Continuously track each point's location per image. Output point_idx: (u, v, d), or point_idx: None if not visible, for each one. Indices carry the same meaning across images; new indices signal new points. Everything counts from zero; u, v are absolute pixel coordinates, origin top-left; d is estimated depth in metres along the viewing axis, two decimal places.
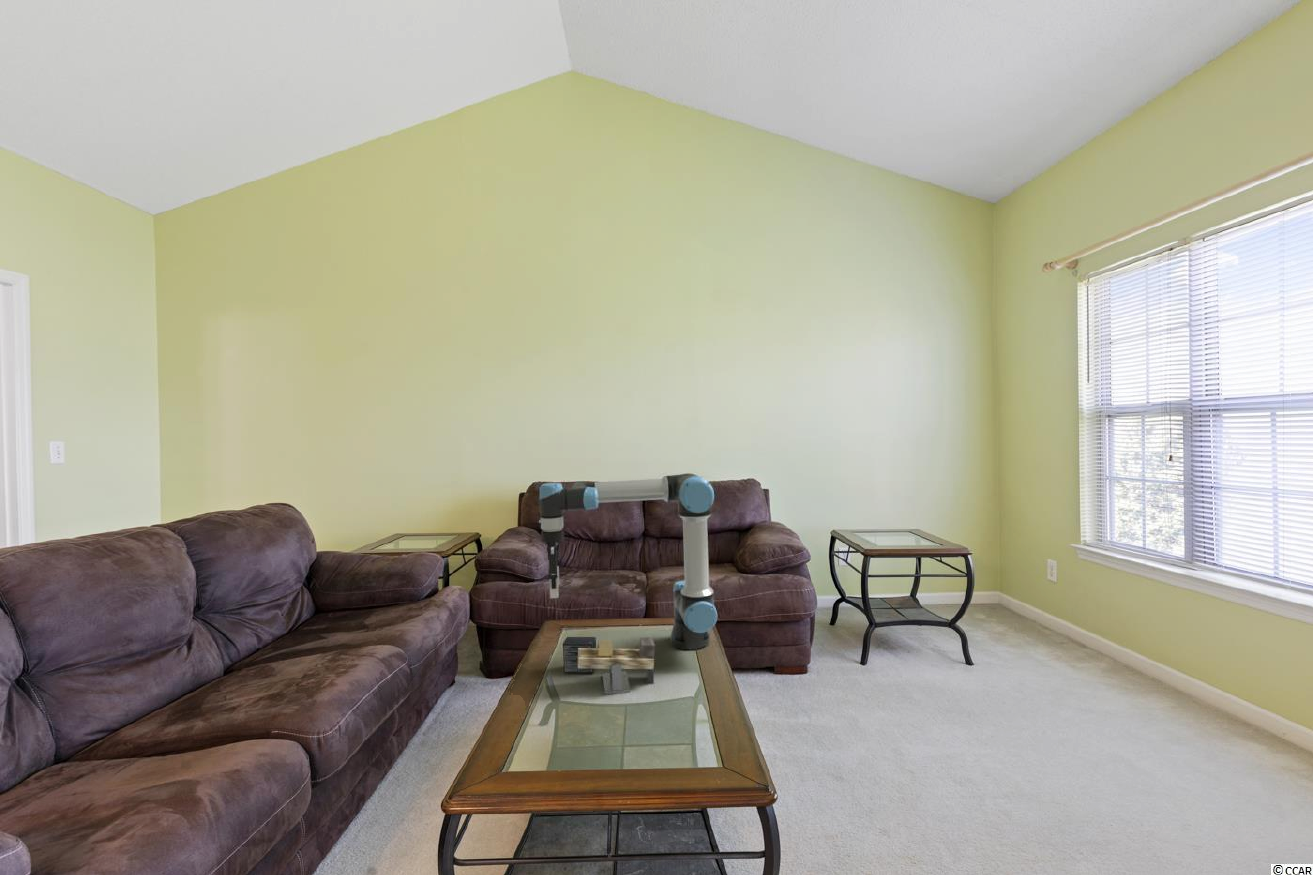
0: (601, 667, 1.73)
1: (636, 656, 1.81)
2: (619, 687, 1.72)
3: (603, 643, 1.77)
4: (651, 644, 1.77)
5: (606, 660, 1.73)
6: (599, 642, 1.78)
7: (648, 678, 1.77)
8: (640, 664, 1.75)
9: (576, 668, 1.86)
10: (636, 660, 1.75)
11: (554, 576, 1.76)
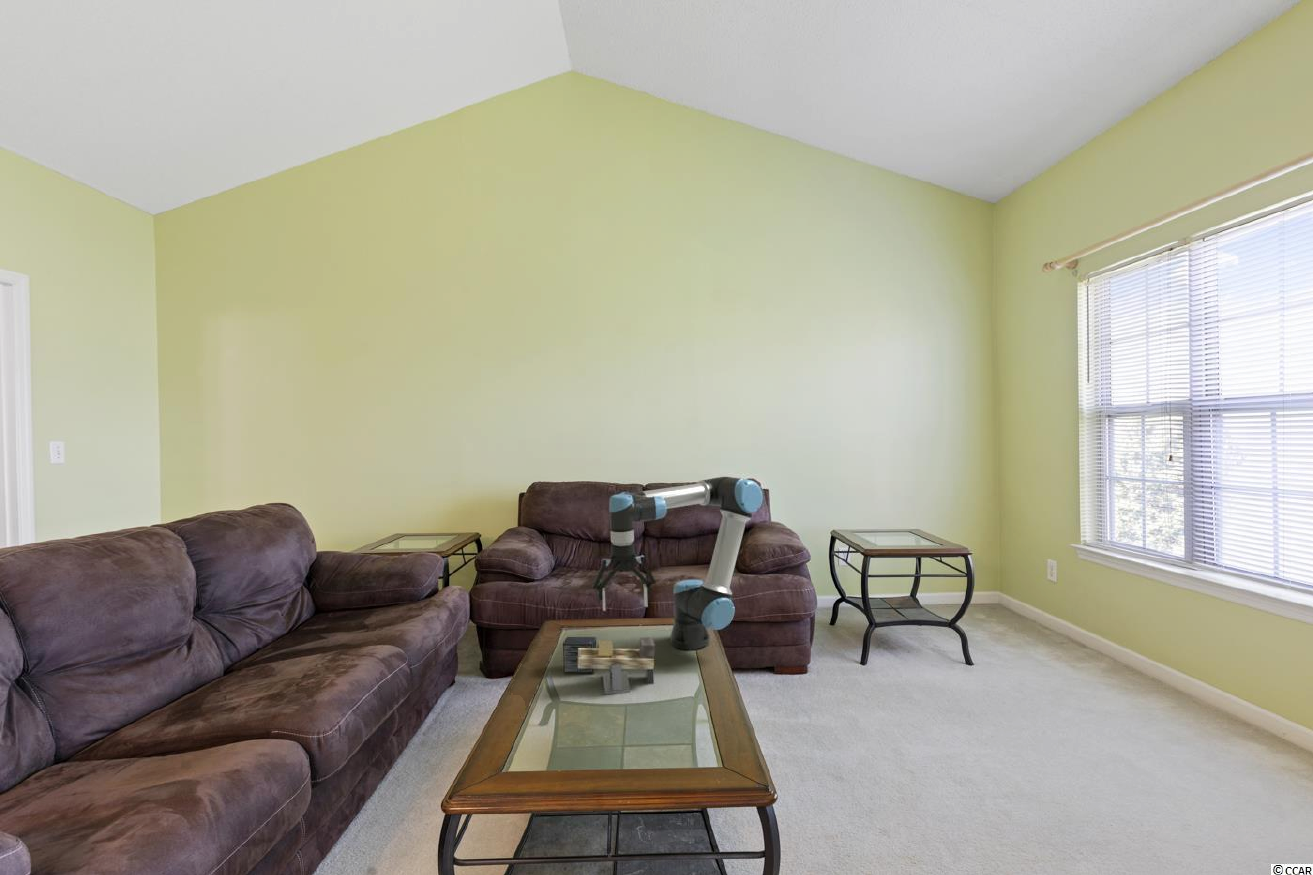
0: (601, 667, 1.73)
1: (636, 656, 1.81)
2: (619, 687, 1.72)
3: (603, 643, 1.77)
4: (651, 644, 1.77)
5: (606, 660, 1.73)
6: (599, 642, 1.78)
7: (648, 678, 1.77)
8: (640, 664, 1.75)
9: (576, 668, 1.86)
10: (636, 660, 1.75)
11: (593, 586, 1.76)
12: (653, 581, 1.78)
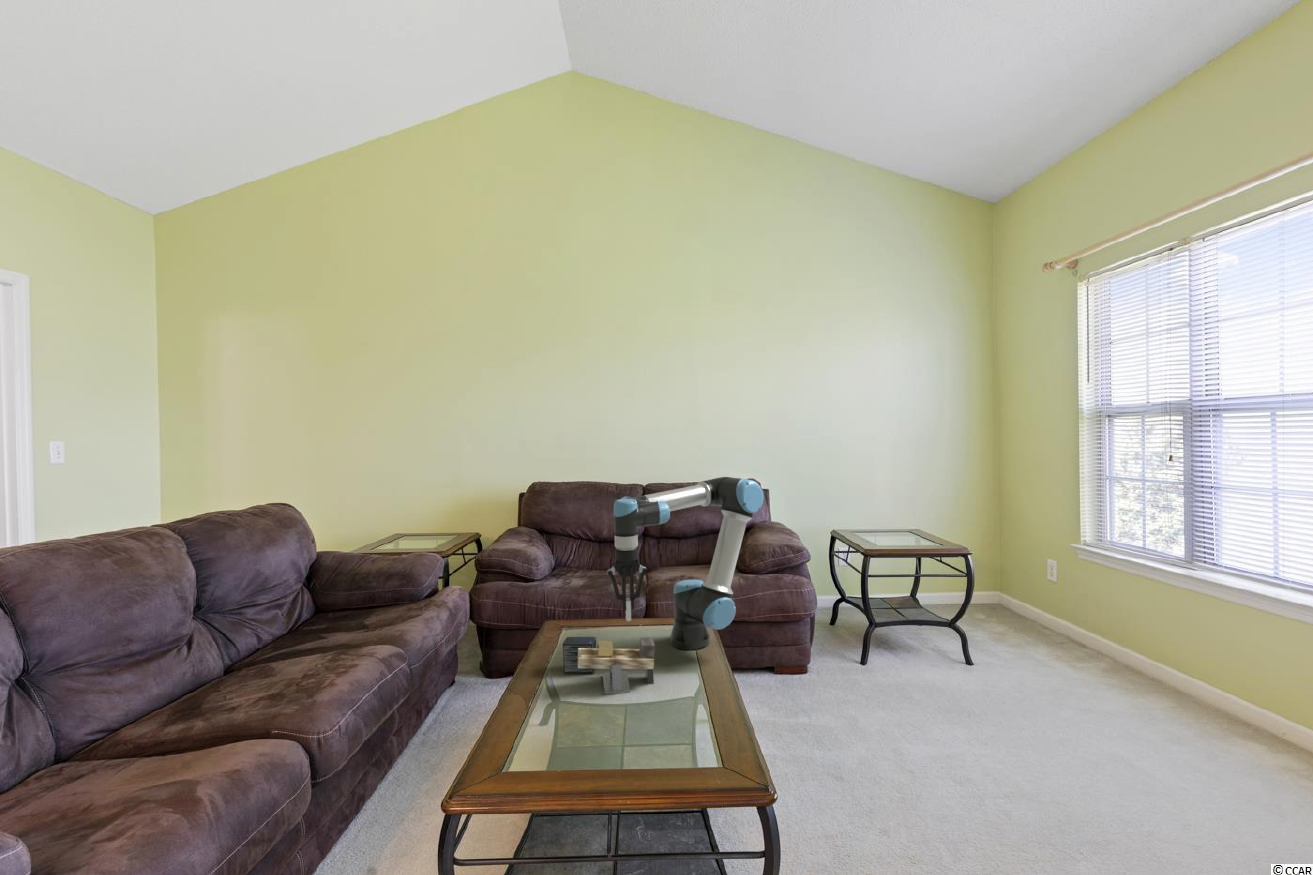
0: (601, 667, 1.73)
1: (636, 656, 1.81)
2: (619, 687, 1.72)
3: (603, 643, 1.77)
4: (651, 644, 1.77)
5: (606, 660, 1.73)
6: (599, 642, 1.78)
7: (648, 678, 1.77)
8: (640, 664, 1.75)
9: (576, 668, 1.86)
10: (636, 660, 1.75)
11: (616, 596, 1.77)
12: (638, 595, 1.77)
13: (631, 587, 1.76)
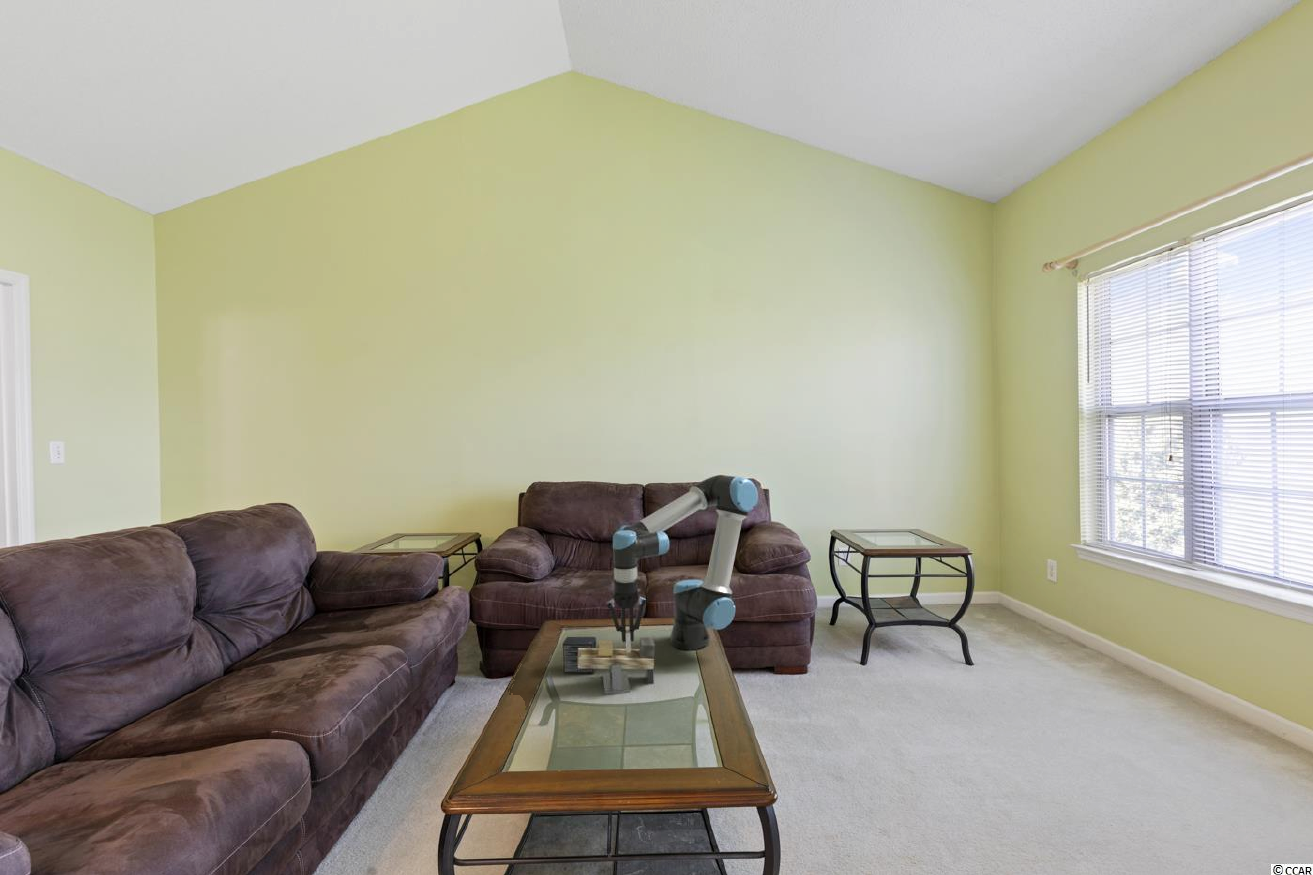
0: (601, 667, 1.73)
1: (636, 656, 1.81)
2: (619, 687, 1.72)
3: (603, 643, 1.77)
4: (651, 644, 1.77)
5: (606, 660, 1.73)
6: (599, 642, 1.78)
7: (648, 678, 1.77)
8: (640, 664, 1.75)
9: (576, 668, 1.86)
10: (636, 660, 1.75)
11: None
12: (637, 626, 1.77)
13: (631, 619, 1.77)
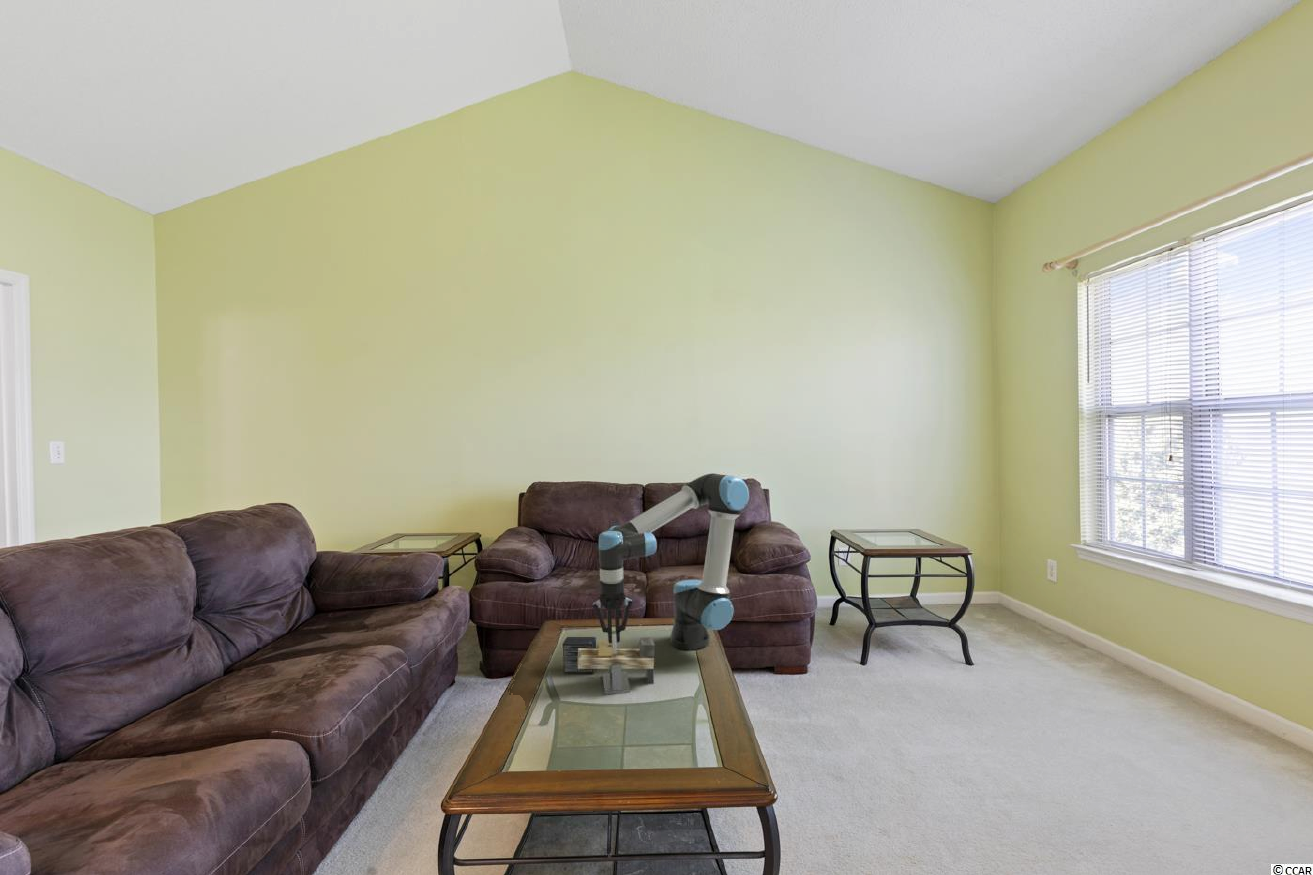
0: (601, 667, 1.73)
1: (636, 656, 1.81)
2: (619, 687, 1.72)
3: (603, 643, 1.77)
4: (651, 644, 1.77)
5: (606, 660, 1.73)
6: (599, 642, 1.78)
7: (648, 678, 1.77)
8: (640, 664, 1.75)
9: (576, 668, 1.86)
10: (636, 660, 1.75)
11: None
12: (623, 628, 1.77)
13: (617, 620, 1.76)
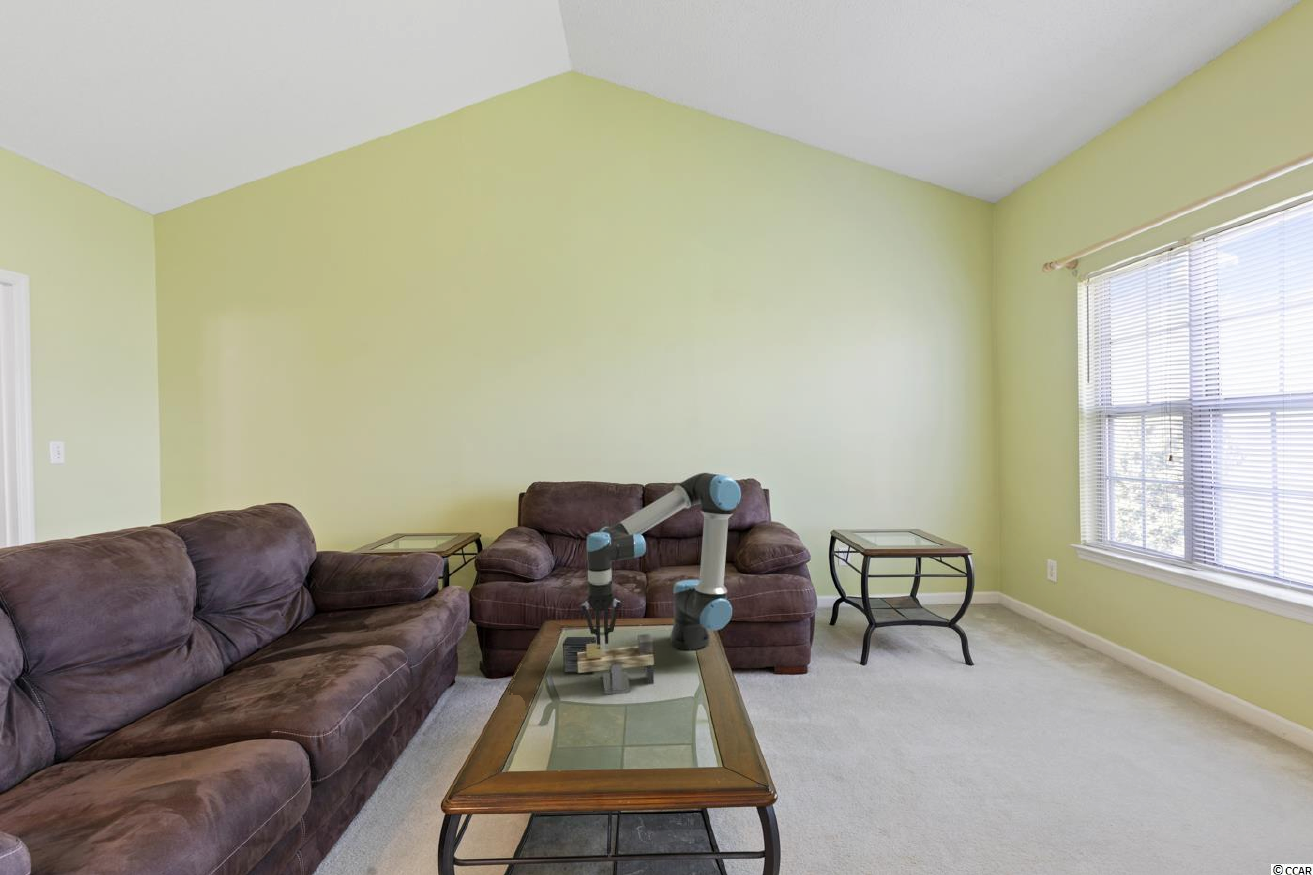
0: (601, 669, 1.73)
1: (636, 653, 1.81)
2: (619, 687, 1.72)
3: (591, 646, 1.77)
4: (648, 640, 1.77)
5: (605, 661, 1.73)
6: (587, 645, 1.77)
7: (648, 678, 1.77)
8: (640, 661, 1.75)
9: (576, 668, 1.86)
10: (635, 658, 1.75)
11: None
12: (612, 629, 1.76)
13: (605, 621, 1.76)
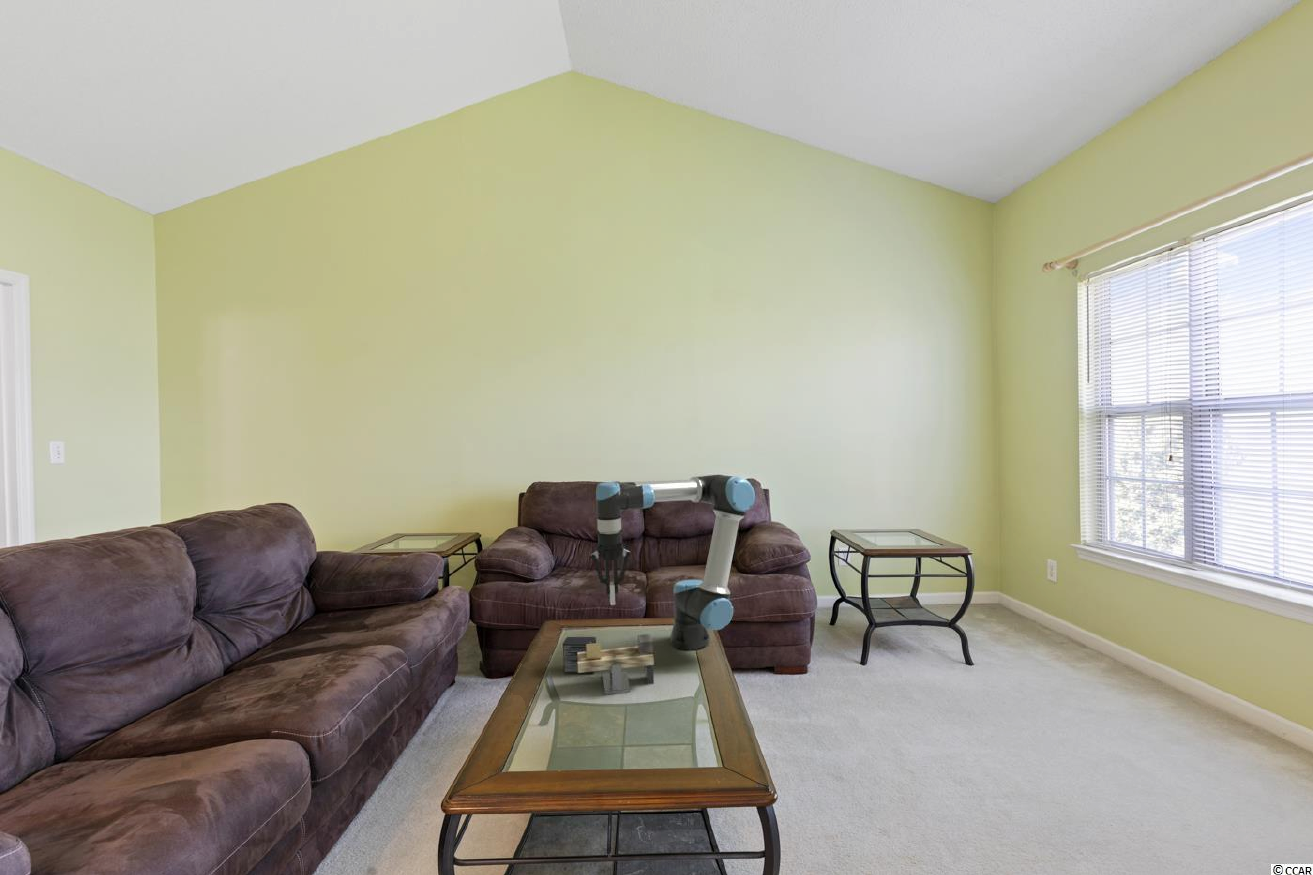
0: (601, 669, 1.73)
1: (636, 653, 1.81)
2: (619, 687, 1.72)
3: (591, 646, 1.77)
4: (648, 640, 1.77)
5: (605, 661, 1.73)
6: (587, 645, 1.77)
7: (648, 678, 1.77)
8: (640, 661, 1.75)
9: (576, 668, 1.86)
10: (635, 658, 1.75)
11: None
12: (621, 579, 1.76)
13: (615, 571, 1.76)
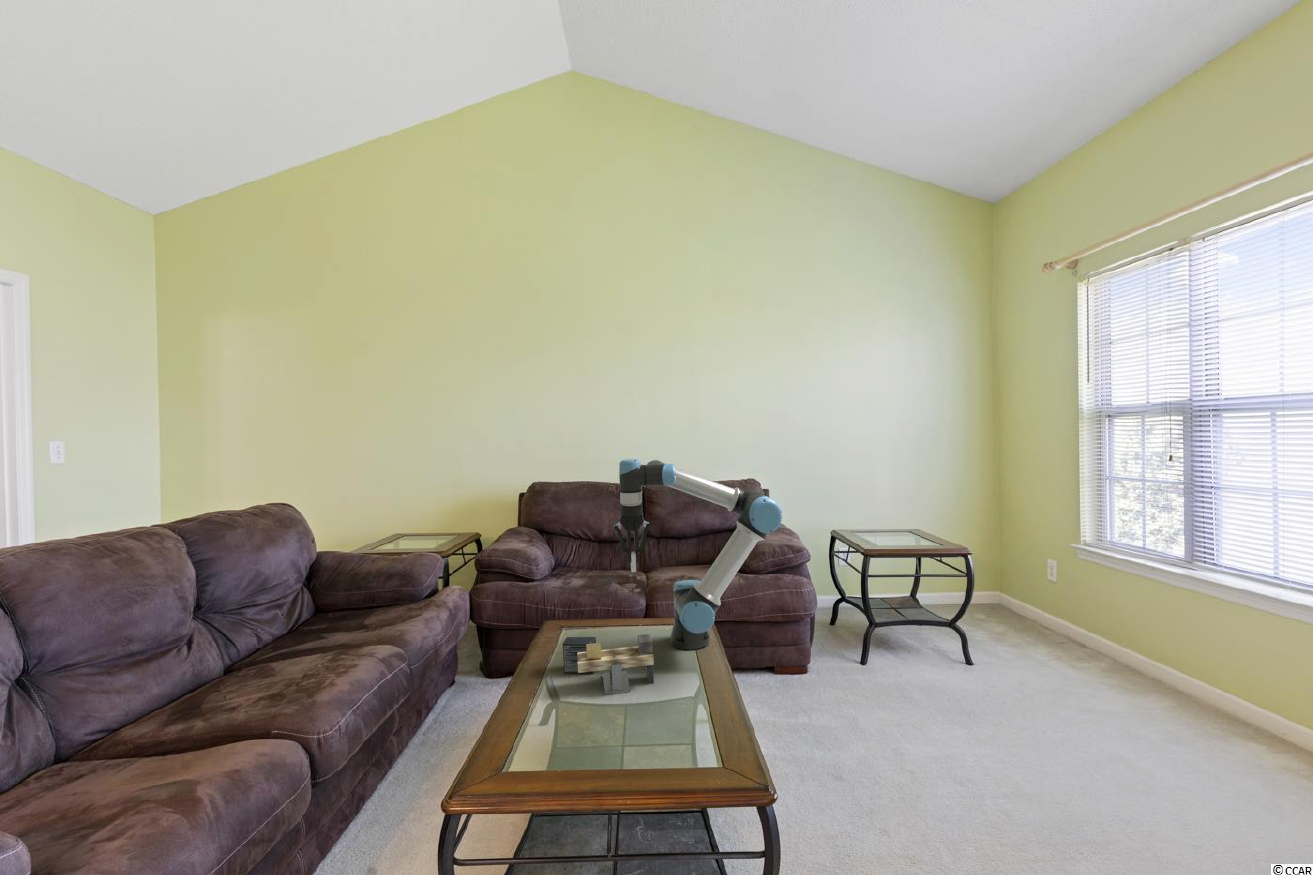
0: (601, 669, 1.73)
1: (636, 653, 1.81)
2: (619, 687, 1.72)
3: (591, 646, 1.77)
4: (648, 640, 1.77)
5: (605, 661, 1.73)
6: (587, 645, 1.77)
7: (648, 678, 1.77)
8: (640, 661, 1.75)
9: (576, 668, 1.86)
10: (635, 658, 1.75)
11: (622, 549, 1.90)
12: (642, 548, 1.91)
13: (636, 540, 1.90)
